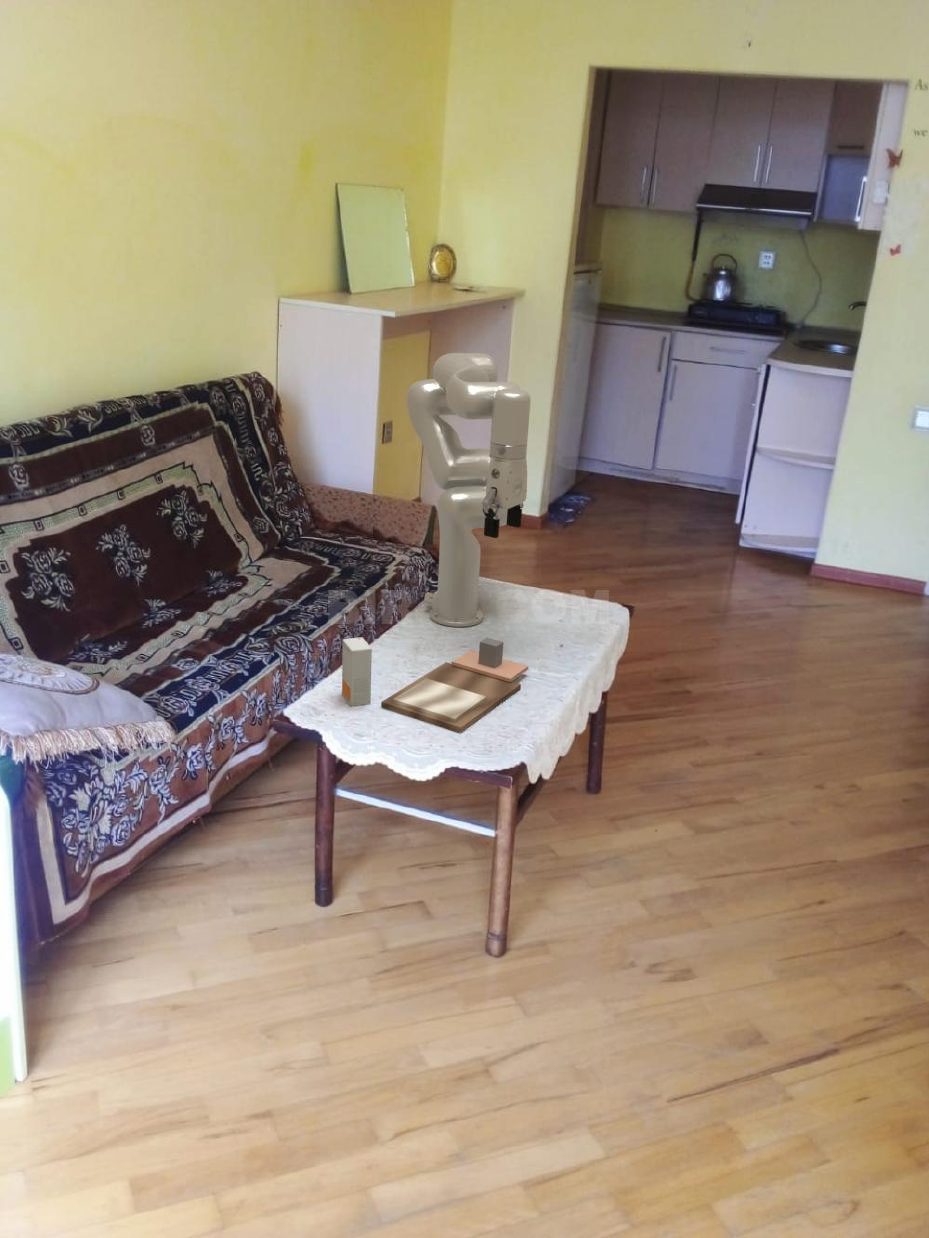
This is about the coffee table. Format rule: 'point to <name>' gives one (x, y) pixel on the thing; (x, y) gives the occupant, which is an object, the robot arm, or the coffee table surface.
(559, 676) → the coffee table surface
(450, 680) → the board
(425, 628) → the coffee table surface
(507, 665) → the peach lid with handle
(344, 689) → the skincare box
